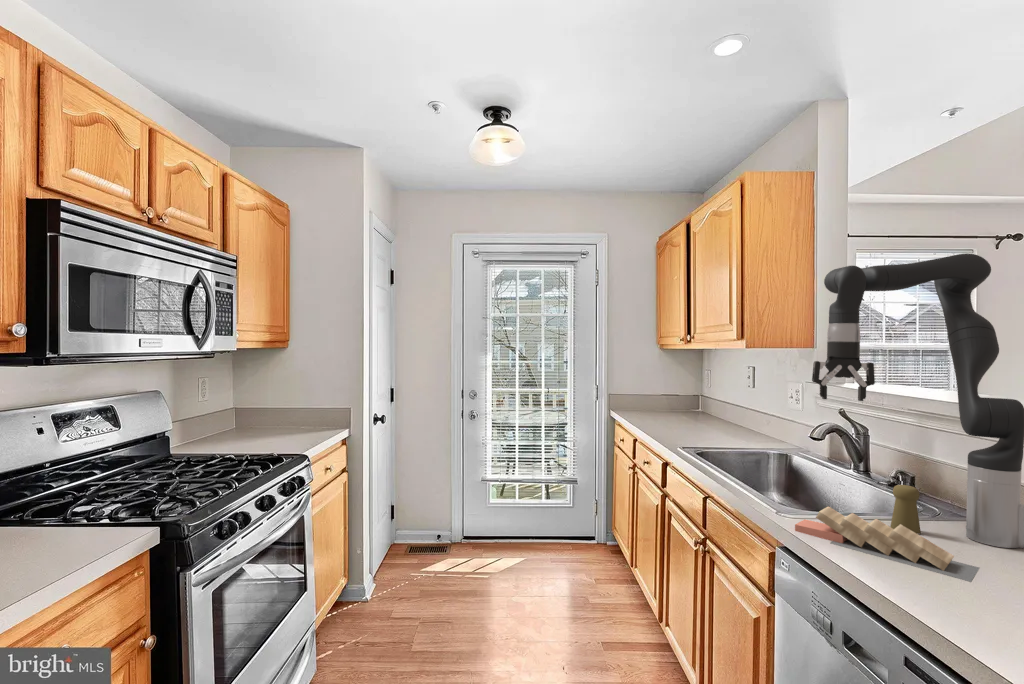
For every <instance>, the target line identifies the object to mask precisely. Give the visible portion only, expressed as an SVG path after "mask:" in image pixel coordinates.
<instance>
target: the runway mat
mask: <svg viewBox="0 0 1024 684" xmlns="http://www.w3.org/2000/svg"><path fill="white" fill-rule="evenodd" d="M829 544H830V545H835V546H837V547H842V548H846V549H849V550H852V551H856V552H860V553H863V554H867V555H871V556H874V557H878V558H883V559H885V560H889V561H893V562H897V563H900V564H903V565H907V566H911V567H915V568H918V569H922V570H924V571H930V572H933V573H936V574H940V575H944V576H947V577H951V578H955V579H958V580H962V581H965V582H969V583H971V582H972V581H973V580H974V578H975V576H976V575H977V573H978V572H979V569H980V567H979V566H975V565H971V564H969V563H968V564H967V563H963V562H959V561H956V560H953V559H952V560H951V562H950V563H949V565H948V566H947V567H946V568H945V570H944V571H943V570H941V569H940V568H938V567H936V566H935V565H933V564H932V563H930V562H928V561H927V560H925V559H923V558H922V557H921V558H920V559H919V560H918V561H917V562H916V563H914V562H913V561H911V560H909V559H908V558H906V557H905V556H903V555H901V554H900V553H898V552H897V551H895V550H894V551H893V552H892V553H891V554H890V555H889V556H887V555H886V554H884V553H883V552H881V551H880V550H878V549H877V548H875V547H874V546H872V545H871V544H869V543H866V544H865V545H863V546H862V547H860V546H858V545H857V544H855V543H854V542H852V541H851V540H849V539H848V540H847V541H845V542H844V543H839V542H835V541H830V542H829Z"/></svg>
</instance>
